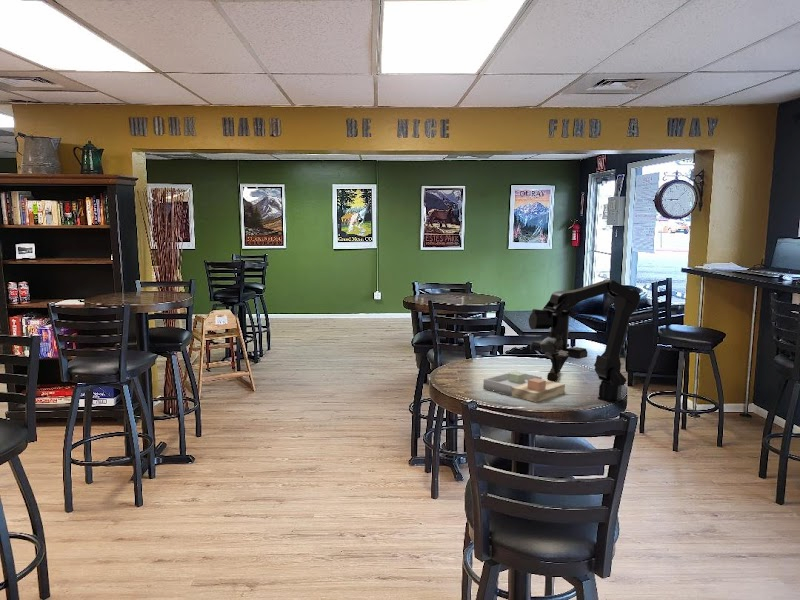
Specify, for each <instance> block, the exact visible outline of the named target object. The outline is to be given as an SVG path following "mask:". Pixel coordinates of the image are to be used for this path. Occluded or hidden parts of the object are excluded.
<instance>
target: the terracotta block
mask: <svg viewBox="0 0 800 600" xmlns="http://www.w3.org/2000/svg"><path fill="white" fill-rule="evenodd" d="M545 380H546V379H544V380H541V379H537V378H533V379H530V380H528V386H527V388H528V389H532V390H536V391H540V390H544V389H545V388H546V381H545Z"/></svg>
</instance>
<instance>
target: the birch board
mask: <svg viewBox="0 0 800 600" xmlns="http://www.w3.org/2000/svg"><path fill="white" fill-rule="evenodd" d="M541 380H545V381H546V388H545V389H544V390H540V391H536V390H532V389H528V388H527V386H528V383H525V384H521V385H518V386H515V387H512V397H515V398H520V399H523V400H527V401H531V402H534V403H537V402H541V401H543V400H546V399H549V398H552V397H554V396H555V397H556V396H558V395H561V394H564V393H565V391H566V390H565V389H566V384H564V383H561V382H557V381H555V382H553V381H548V379H543V378H542V379H541ZM540 400H541V401H540Z"/></svg>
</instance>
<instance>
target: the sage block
mask: <svg viewBox="0 0 800 600" xmlns="http://www.w3.org/2000/svg"><path fill="white" fill-rule="evenodd" d="M514 371H515V372H513V371H510V372H511V373H509V372H507V373H508V381H510V382H514V383H521V382H525V374H526V373H525V374H524V372H521V373H520V371H517V370H514ZM516 371H517V372H516Z"/></svg>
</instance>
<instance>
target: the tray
mask: <svg viewBox="0 0 800 600" xmlns="http://www.w3.org/2000/svg"><path fill="white" fill-rule="evenodd" d="M515 371H516V372H518V371H517V370H514V371H510V372H507V373H502V374H497V375H494V376H490V377H486V378H484V379H483V386H482V388H483V389H484V388H487V389H486V390H488V389H490V390H489V391H491V390H494V391H493V392H495V391H497V392H496V393H499V392H500V393H499V394H502V393H503V394H504V395H506V394H507V396H509V397H511V395H512V387H515V386H518V385H521V384H525V383H528V380H530V379H533V378H537V379H543V378H542V376H538V375H533V374H529V373H524V372H523V373H524V374H525V382H521V383H514V382H510V381H508V373H511V372H515ZM519 372H520V371H519ZM520 373H522V372H520Z"/></svg>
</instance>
